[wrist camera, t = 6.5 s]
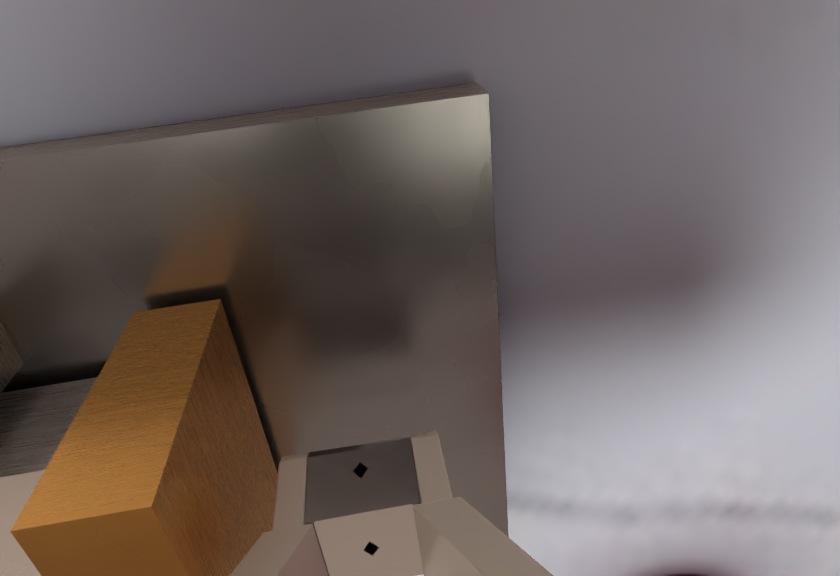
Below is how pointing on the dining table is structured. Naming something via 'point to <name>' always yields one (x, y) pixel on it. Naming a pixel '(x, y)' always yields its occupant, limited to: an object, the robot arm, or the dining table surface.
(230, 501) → the plunger
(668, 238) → the dining table surface
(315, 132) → the bench
